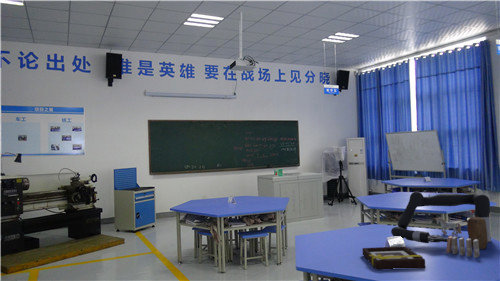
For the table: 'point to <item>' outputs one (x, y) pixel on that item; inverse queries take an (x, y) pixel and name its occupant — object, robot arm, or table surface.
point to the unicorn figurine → (448, 226)
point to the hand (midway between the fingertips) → (448, 240)
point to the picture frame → (393, 257)
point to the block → (477, 231)
